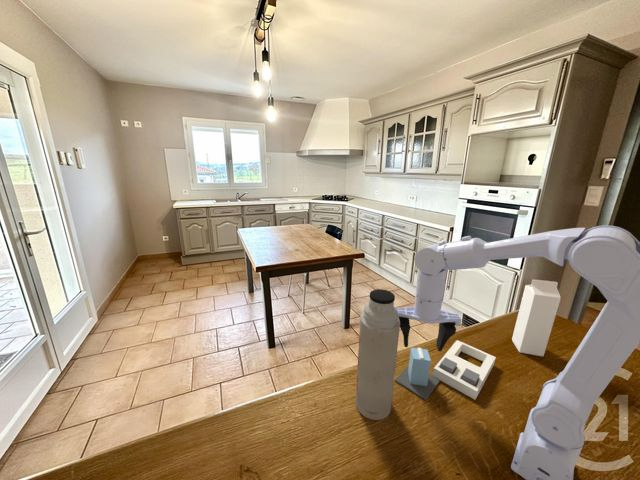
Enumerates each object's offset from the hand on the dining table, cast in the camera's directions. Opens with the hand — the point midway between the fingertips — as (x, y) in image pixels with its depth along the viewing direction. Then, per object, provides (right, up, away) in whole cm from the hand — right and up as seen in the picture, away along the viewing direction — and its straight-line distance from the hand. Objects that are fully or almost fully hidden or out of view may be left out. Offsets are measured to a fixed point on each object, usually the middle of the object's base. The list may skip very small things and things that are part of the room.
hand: (422, 346), depth 64 cm
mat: (0, -10, +3) cm, 10 cm away
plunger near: (+12, -10, +1) cm, 16 cm away
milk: (+37, -7, +15) cm, 41 cm away
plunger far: (+8, -9, +5) cm, 13 cm away
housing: (+14, -9, +7) cm, 18 cm away
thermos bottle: (-12, -12, -3) cm, 18 cm away
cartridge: (0, -9, +3) cm, 10 cm away
